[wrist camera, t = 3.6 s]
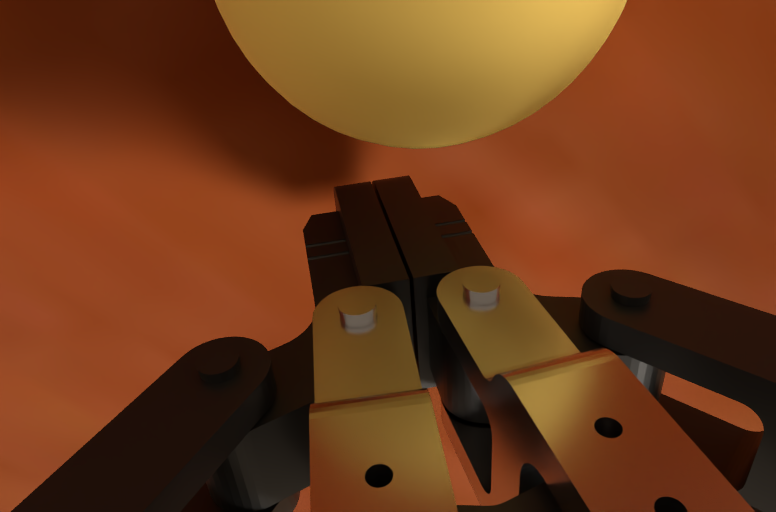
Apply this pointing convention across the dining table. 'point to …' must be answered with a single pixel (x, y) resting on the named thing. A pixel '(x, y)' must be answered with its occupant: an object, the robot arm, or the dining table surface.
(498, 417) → the robot arm
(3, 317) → the dining table surface
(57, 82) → the dining table surface
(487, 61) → the ball
